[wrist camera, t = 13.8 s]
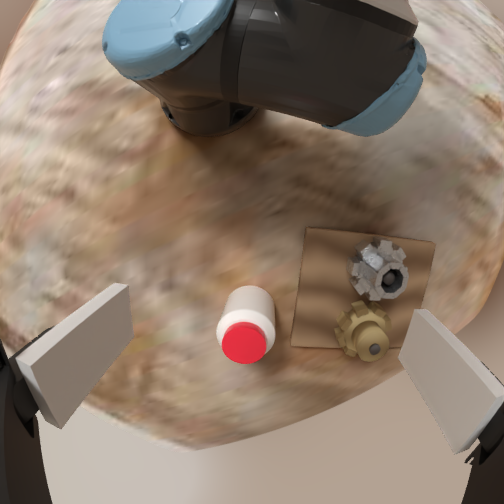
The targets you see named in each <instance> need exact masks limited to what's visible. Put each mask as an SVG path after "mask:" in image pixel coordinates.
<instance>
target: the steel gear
mask: <svg viewBox="0 0 504 504" xmlns="http://www.w3.org/2000/svg"><path fill="white" fill-rule="evenodd" d="M354 248H355V249H356V251H357V252H356V254H357V256H354V258H351V257H348V261H347V267H346V270H347V271H348V272H349V273H350V274H351V275H352V277H351V278H350V279H348V280H349V281H350V282H351V284H352V285H353V286H354V288H355V289H356V290H357V292H358V293H359V294H360V296H361V295H362V294H363V293H364V294H365V295H366V297H367V298H368V299H369V300H374V301H380V299H381V298H385V299H394V298H396V297H397V296H399V295H400V294H401V293H402V292H403V291H404V290H405V289H406V286H407V282H408V278H409V274H408V272H407V270H408V267H406V266H405V265H403V264H402V263H403V261H402V260H403V259H404V258H406V255H405V253H404V252H403V250H402V248H401V247H400V246H398V245H396V244H394V243H392V241H391V240H389V239H387V238H385V237H378V236H373V242H371V243H368V242H367V241H365V240H364V239H363V240H362V241H360V242H359V243H358V244H357V245H356V246H355V247H354ZM387 271H390V272H391V273H392V274H394V276H395V280H394V282H393V283H392V284H390V285H387V284H386V283H384V282H383V281H382V277H383V275H384V274H385V273H386V272H387Z"/></svg>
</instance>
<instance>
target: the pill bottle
mask: <svg viewBox="0 0 504 504" xmlns="http://www.w3.org/2000/svg"><path fill="white" fill-rule="evenodd" d="M216 333H217V339H218V342H219V344H220V346H221V347H222V349H223V352H224V353H225V355H226V356H227V357H228V358H229V359H231V360H232V361H234V362H237V363H241V364H250V363H254V362H256V361H258V360H260V359H261V358H262V357H263V356H264V354H266V353H267V352H268V351H269V350H270V349H271V348H272V346H273V344H274V341H275V333H276V332H275V305H274V301H273V299H272V297H271V296H270V294H269V293H268V292H266V291H265V290H264V289H262V288H260V287H257V286H242V287H239V288H237V289H236V290H234V291H233V292H232V293H231V294H230V295H229V297H228V299H227V301H226V304H225V307H224V309H223V312H222V315H221V318H220V320H219V323H218V326H217V331H216Z"/></svg>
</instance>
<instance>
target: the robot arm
mask: <svg viewBox="0 0 504 504" xmlns="http://www.w3.org/2000/svg"><path fill="white" fill-rule="evenodd" d="M417 26H418V20H417V18H416V16H415V14H414V12H413V10H412V8H411V7H410V5H409V3H408V0H121V1H120V2H119V3H118V5H117V6H116V7H115V9H114V10H113V11H112V13H111V15H110V16H109V18H108V20H107V23H106V25H105V28H104V32H103V37H102V47H103V51H104V54H105V56H106V58H107V60H108V61H109V62H110V63H111V64H112V65H113V66H114V67H115V68H116V69H117V70H118V71H119V73H120V74H121V75H123V76H124V77H126V78H127V79H131V80H133V81H134V82H136V83H137V84H139V85H140V86H142V87H143V88H145V89H146V90H148V91H149V92H151V93H152V94H153V95H155V96H156V97H158V98H159V99H160V103H161V106H162V109H163V111H164V113H165V115H166V116H167V117H168V119H169V120H170V121H171V122H172V123H173V124H174V125H176V126H177V127H179V128H180V129H182V130H183V131H185V132H187V133H190V134H193V135H196V136H203V137H214V136H220V135H224V134H227V133H230V132H232V131H235V130H236V129H238V128H240V127H241V126H243V125H244V124H245V123H247V122H248V121H249V120H250V119H251V118H252V117H253V116H254V114H255V113H256V112H257V110H258V108H263V109H267V110H271V111H275V112H279V113H283V114H287V115H291V116H295V117H298V118H302V119H305V120H309V121H312V122H315V123H319V124H321V125H322V126H323V127H325V128H327V129H338V130H342V131H345V132H348V133H351V134H355V135H358V136H364V137H368V136H371V135H378V134H380V133H383V132H384V131H386V130H388V129H389V128H391V127H392V126H393V125H394V124H395V123H397V122H398V121H399V120H400V118H401V117H402V116H403V115H404V114H405V113H406V111H407V110H408V109H409V108H410V106H411V104H412V103H413V101H414V100H415V98H416V96H417V94H418V92H419V90H420V88H421V85H422V82H423V78H422V76H421V75H422V74H423V72H424V71H425V70H426V65H427V58H426V53H425V50H424V48H423V46H422V45H421V44H420V43H419V41H418V40H417V39H416V38H415V37H413V36H414V33H415V31H416V28H417ZM133 338H134V331H133V324H132V316H131V307H130V297H129V286H128V285H125V284H119V283H114V284H112V285H111V286H109V287H108V288H107V289H105V290H104V291H102V292H101V293H99V294H98V295H97V296H95V297H94V298H92V299H91V300H90V301H88V302H87V303H86V304H84V305H83V306H81V307H80V308H79V309H77V310H76V311H75V312H73V313H72V314H71V315H69V316H68V317H67V318H65V319H64V320H63V321H61V322H60V323H59V324H57V325H55V326H53V327H51V328H48V329H46V330H45V331H43V332H42V333H41V334H40V335H38V337H36V338H34V339H33V340H32V342H29V343H28V344H27V345H25V346H24V347H23V348H22V349H20V350H19V351H18V352H17V353H15V354H14V355H13V356H12V357H11V358H9V359H8V357H7V355H6V352H5V350H4V347H3V344H2V341H1V339H0V504H52V500H51V496H50V493H49V489H48V484H47V480H46V475H45V471H44V465H43V459H42V453H41V445H40V437H39V427H38V420H37V417H36V415H35V414H36V413H37V411H38V410H40V412H41V414H42V415H43V417H44V419H45V421H47V422H48V423H50V424H52V425H54V426H56V427H57V428H59V429H62V428H63V426H64V425H65V424H66V422H67V421H68V420H69V418H70V417H71V416H72V414H73V413H74V412H75V410H76V409H77V408H78V407H79V405H80V404H81V403H82V401H83V400H84V399H85V397H86V396H87V395H88V394H89V392H90V391H91V390H92V389H93V387H94V386H95V385H96V383H97V382H98V381H99V380H100V378H101V377H102V376H103V375H104V373H105V372H106V371H107V370H108V368H109V367H110V366H111V365H112V363H113V362H114V361H115V360H116V358H117V357H118V356H119V355H120V354H121V352H122V351H123V350H124V349H125V347H126V346H127V345H128V344H129V343H130V341H131V340H132V339H133ZM398 359H399V360H400V362H401V364H402V365H403V367H404V368H405V370H406V371H407V373H408V375H409V376H410V378H411V379H412V381H413V383H414V384H415V386H416V388H417V389H418V391H419V392H420V394H421V396H422V397H423V399H424V401H425V402H426V404H427V406H428V407H429V409H430V411H431V413H432V414H433V416H434V418H435V420H436V421H437V423H438V425H439V427H440V429H441V430H442V432H443V434H444V436H445V438H446V440H447V442H448V443H449V445H450V447H451V449H452V451H453V453H454V454H458V453H460V452H463V451H465V450H467V449H469V448H470V447H471V445H472V444H473V443H474V442H475V440H476V439H477V438H478V439H479V441H480V444H479V445H478V446H477V447H476V448H475V450H474V451H473V452H472V453H471V454H470V455H469V456H468V458H467V459H466V460H465V463H467V462H468V461H469V460H470V459H471V458H472V457H474V459H473V460H472V461H471V463H470V464H471V465H472V468H471V473H470V477H469V480H468V485H467V487H466V491H465V494H464V497H463V500H462V503H461V504H504V385H503V384H502V383H501V382H500V381H499V380H498V378H497V377H495V376H494V374H493V373H492V372H491V371H489V369H488V368H487V367H486V366H485V364H484V363H483V362H481V361H480V360H479V359H478V358H477V357H476V356H475V355H474V354H473V353H472V352H471V351H470V350H469V349H468V348H467V347H466V346H465V345H464V344H463V343H462V342H461V341H460V340H459V339H458V338H457V337H456V336H455V335H454V334H453V333H452V332H451V331H450V330H449V329H447V328H446V327H445V326H444V325H443V324H442V323H441V322H440V321H439V320H438V319H437V318H436V317H435V316H434V315H433V314H431V313H430V312H429V311H428V310H427V309H414V312H413V316H412V319H411V322H410V325H409V328H408V331H407V334H406V337H405V340H404V343H403V346H402V348H401V351H400V354H399V356H398Z"/></svg>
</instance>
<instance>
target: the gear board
mask: <svg viewBox="0 0 504 504" xmlns="http://www.w3.org/2000/svg"><path fill="white" fill-rule="evenodd" d="M373 236H378V237H385V238H387V239H389V240H391V241H392V243H394V244H396V245H398V246H400V247H401V248H402V250H403V252H404V253H405V255H406V258H404V259H403V260H402V261H403V263H402V264H403V265H405V266H406V267H408V270H407V272H408V274H409V278H408V282H407V286H406V289H405V290H404V291H403V292H402V293H401V294H400V295H399V296H397V297H396V298H394V299H385V298H381V299H380V301H374V300H369V299H368V298H367V297H366V295H365V294H364V293H363V294H362V295H361V296H360V294H359V293H358V292H357V290H356V289H355V288H354V286H353V285H352V284H351V282H350V281H349V280H348V279H350V278H351V277H352V275H351V274H350V273H349V272H348V271H347V270H346V267H347V261H348V257H351V258H354V256H357V254H356V252H357V251H356V249H355V248H354V247H355V246H356V245H357V244H358V243H359V242H360V241H362V240H363V239H364V240H365V241H367V242H368V243H371V242H373ZM435 245H436V244H435V243H433V242H430V241H422V240H415V239H408V238H400V237H392V236H385V235H376V234H368V233H360V232H351V231H342V230H333V229H324V228H314V227H306V228H305V237H304V245H303V254H302V262H301V269H300V277H299V284H298V292H297V298H296V305H295V312H294V318H293V325H292V331H291V337H290V346H301V347H326V348H343V349H344V352H345V354H347V355H349V356H352V357H355V356H356V354H357V353H358V355H359V357H360V358H361V359H362V360H363V361H366V362H372V361H376V360H378V359H380V358H381V357H382V356H383V355H384V354H385V353H386V352H387V350H388V348H389V347H402V346H403V343H404V340H405V337H406V334H407V331H408V328H409V325H410V322H411V319H412V316H413V312H414V309H420V308H421V305H422V301H423V298H424V294H425V290H426V286H427V282H428V278H429V274H430V270H431V265H432V261H433V256H434V251H435ZM394 280H395V276H394V274H392V273H391V272H390V271H387V272H386V273H385V274H384V275H383V277H382V281H383V282H384V283H386V284H387V285H390V284H392V283H393V282H394Z"/></svg>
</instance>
